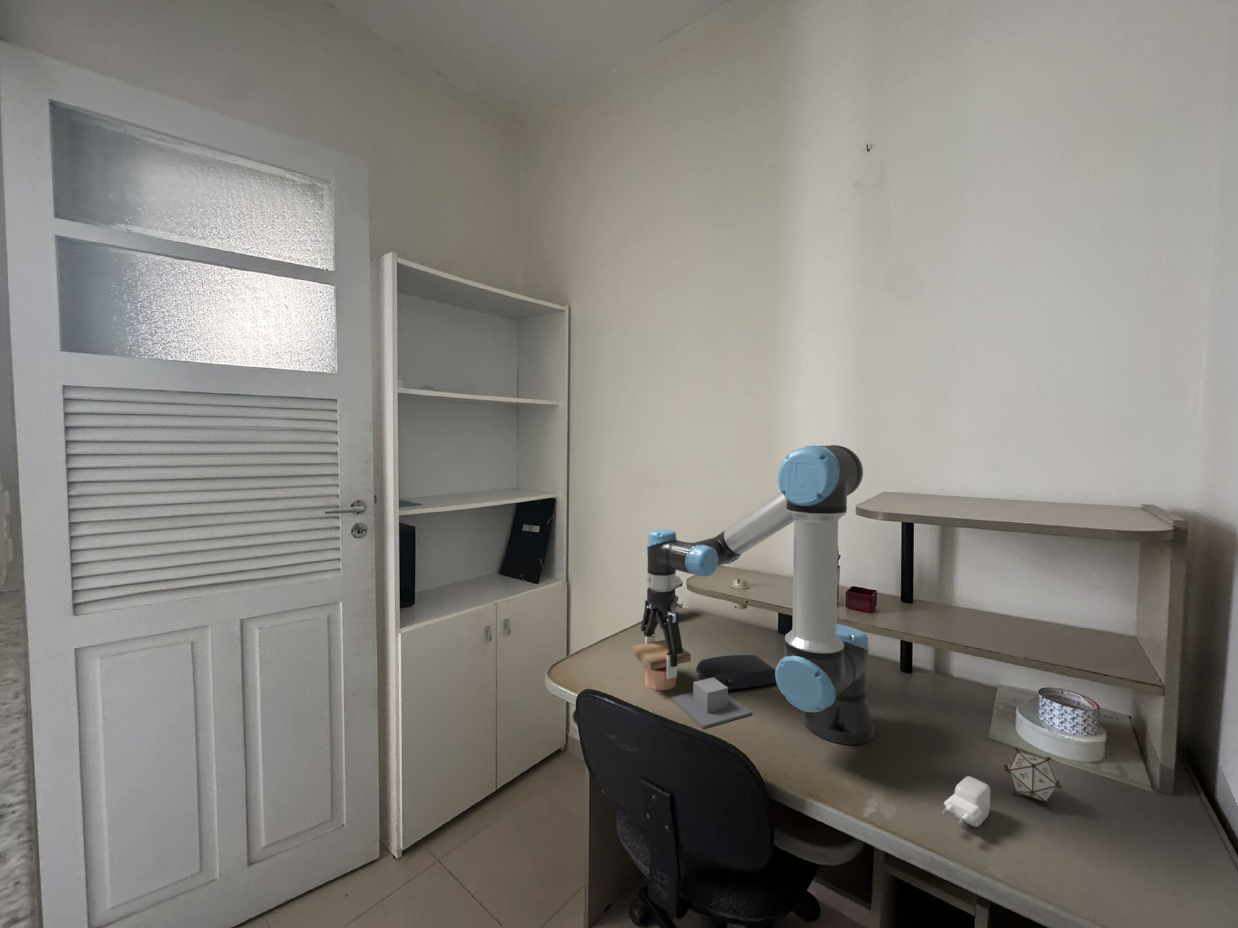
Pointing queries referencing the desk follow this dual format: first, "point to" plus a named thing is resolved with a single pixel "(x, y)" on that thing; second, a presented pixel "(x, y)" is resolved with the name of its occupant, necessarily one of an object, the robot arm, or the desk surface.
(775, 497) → the robot arm
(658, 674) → the bowl
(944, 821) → the desk surface
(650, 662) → the lid
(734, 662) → the external hard drive
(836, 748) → the desk surface
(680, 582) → the figurine
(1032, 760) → the game die
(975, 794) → the power adapter
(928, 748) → the desk surface
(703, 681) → the cube on square base
